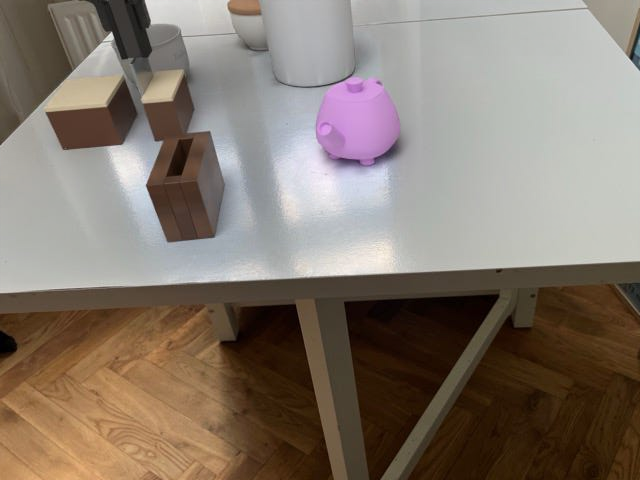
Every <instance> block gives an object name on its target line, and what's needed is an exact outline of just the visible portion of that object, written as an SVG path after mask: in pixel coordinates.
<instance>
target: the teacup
mask: <svg viewBox="0 0 640 480" xmlns="http://www.w3.org/2000/svg"><path fill="white" fill-rule="evenodd" d="M146 32H147V35H148V38H149V41H150V44H151V47H152V52H151V54H150V56H149V57H148V60H149V63H150V66H151V70H152V73H153V76H154V74H155V72H156V71H169V70H181V69H183V70H184V73H185V76H186V75H187V73H188V72H189V69H190V59H189V55H188V51H187V47H186V44H185V40H184V38H183V35H182V29H181V28H180V26H178V25H175V24H173V23H155V24H154V23H153V24H152V23H151V25H150V27H149V28H146ZM110 45H111V48H113V50H114V53H115V55H116V58H117V60H118V62H119V64H120V67H121V69H122V71H123V73H124V76H126V78H127V80H128V81H129V82H131V83H132V85H135V86H137V85H136V82H135V79H134V76H133V73H132V70H131V67H130V63H131V62H132V60H133V58H128V59H124V60H122V59H121V56H120V54H119V51H118V48H117V45H116V42H115V39H114V38H112V40H111V41H110Z"/></svg>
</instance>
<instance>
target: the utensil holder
mask: <svg viewBox="0 0 640 480" xmlns="http://www.w3.org/2000/svg"><path fill="white" fill-rule="evenodd" d="M351 1H352V0H259V5H260V10H261V14H262V19H263V24H264V29H265V34H266V39H267V43H268V48H269V49H268V51H269V57H270V60H271V64H272V69H273V74H274V77H275V79H276V80H277V81H278V82H280V83H281V84H284V85H286V86H292V87H300V88H301V87H303V88H304V87H305V88H308V87H309V88H310V87H321V86H327V85H331V84H336V83H339V82H341V81H344V80H346V79H348V78H349V77H350V76H352V74H353V73H354V71H355V69H356V59H355V58H356V56H355V38H354V24H353V15H352V14H353V13H352V2H351Z"/></svg>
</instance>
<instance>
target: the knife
mask: <svg viewBox="0 0 640 480" xmlns="http://www.w3.org/2000/svg"><path fill="white" fill-rule="evenodd" d="M107 1H108V3H109V6H110V9H111V12H112V15H113V18H114V20H115V23H116V26H117V29H118V32H119V35H120V38H121V41H122V44H123V46H124V49H125V52H126V55H127V58H133V60H132V62H131V63H130V67H131V70H132V73H133V76H134V79H135V82H136V85H135V86H136V88H137V90H138V93H139V96H140V100H141V99H142V97H143V95H144V93H145V91H146V89H147V87H148V85H149V83H150V82H151V80H152V78H153V73H152V70H151V66H150V63H149V60H148V58H142V55H141V52H140V49H139V46H138V43H137V39H136V36H135V33H134V30H133V27H132V24H131V21H130V18H129V15H128V12H127V9H126V6H125V4H126V3H127V2H128V0H107Z"/></svg>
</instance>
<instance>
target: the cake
mask: <svg viewBox="0 0 640 480" xmlns="http://www.w3.org/2000/svg"><path fill="white" fill-rule="evenodd" d="M133 99H134V98H133V97H132V94H131V91H130V89H129V86H128V83H127V80H126V78H125V74H115V75H112V74H111V75H101V76H90V77H79V78H78V77H77V78H76V77H75V78H68V79H66V80H65V81H64V83H63V84H62V85H61V86H60V87H59V88H58V90H57V91H56V92H55V94H54V95H53V96H52V97H51V98H50V100H48V101H47V103H46V104H45V105H44V107H43V110H44V112H45V115H46V117H47V119H48V122H49V124H50V125H51V128H52V130H53V131H54V134H55V136H56V138H57V140H58V142H59V145H60V146H61V149H62V150H63V151H64V150H68V149H67V148H71V149H70V150H74V149H75V150H76V149H85V148H87V149H88V148H96V147H97V148H98V147H108V146H119V145H123V143H124V141H125V139H126V137H127V135H128V133H129V131H130V129H131V127H132V126H133V123H135V120H136V118H137V116H138V110H137V108H136V105H135V103H134V100H133ZM65 148H66V149H65Z"/></svg>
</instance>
